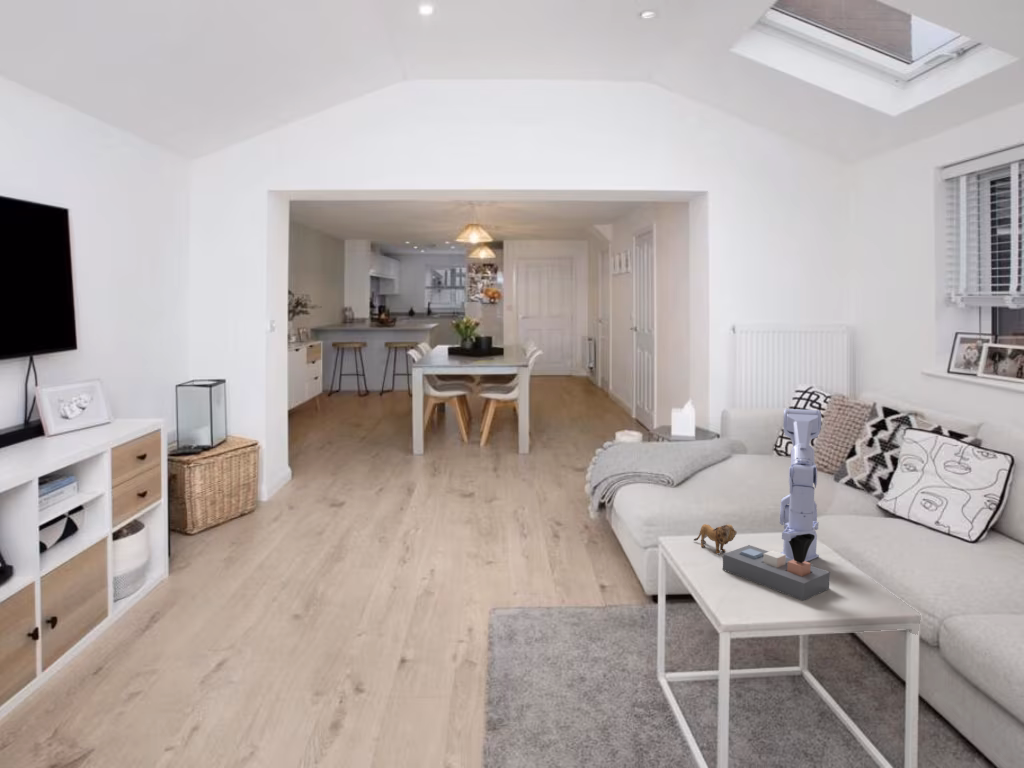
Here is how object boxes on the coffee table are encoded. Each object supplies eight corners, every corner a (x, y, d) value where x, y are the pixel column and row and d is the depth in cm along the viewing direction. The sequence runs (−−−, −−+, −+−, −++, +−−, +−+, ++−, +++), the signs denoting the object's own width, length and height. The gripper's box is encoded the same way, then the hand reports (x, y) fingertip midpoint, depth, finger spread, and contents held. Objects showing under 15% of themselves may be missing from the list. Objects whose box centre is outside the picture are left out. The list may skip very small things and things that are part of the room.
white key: (772, 560, 173) (772, 550, 173) (785, 565, 170) (785, 554, 170) (763, 564, 171) (763, 553, 171) (776, 568, 168) (777, 558, 167)
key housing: (748, 559, 184) (749, 544, 183) (829, 588, 164) (829, 572, 164) (722, 569, 177) (723, 554, 177) (803, 600, 158) (804, 583, 157)
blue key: (749, 558, 179) (749, 548, 179) (762, 563, 176) (762, 552, 175) (740, 561, 177) (741, 551, 176) (753, 566, 174) (753, 555, 173)
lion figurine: (738, 553, 189) (739, 524, 188) (728, 557, 186) (728, 528, 185) (698, 540, 201) (699, 512, 200) (687, 543, 198) (688, 515, 197)
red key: (795, 569, 167) (796, 558, 167) (810, 574, 164) (810, 563, 164) (787, 572, 165) (787, 561, 165) (801, 577, 162) (802, 566, 162)
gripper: (801, 501, 170) (799, 550, 172) (771, 512, 162) (769, 563, 163) (827, 507, 165) (824, 557, 166) (797, 519, 156) (795, 571, 157)
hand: (799, 561), depth 164 cm, fingers closed
